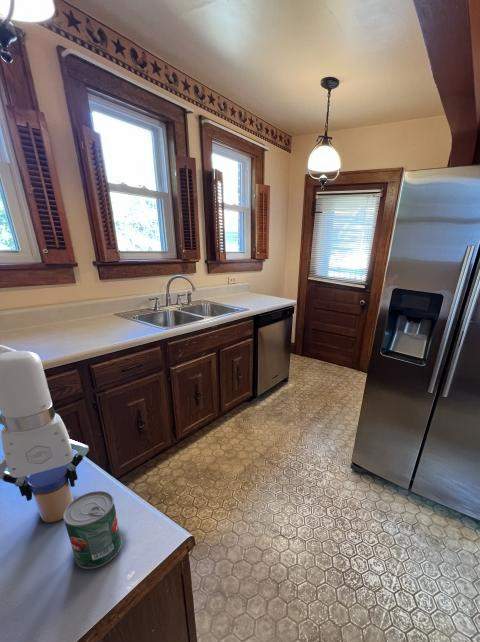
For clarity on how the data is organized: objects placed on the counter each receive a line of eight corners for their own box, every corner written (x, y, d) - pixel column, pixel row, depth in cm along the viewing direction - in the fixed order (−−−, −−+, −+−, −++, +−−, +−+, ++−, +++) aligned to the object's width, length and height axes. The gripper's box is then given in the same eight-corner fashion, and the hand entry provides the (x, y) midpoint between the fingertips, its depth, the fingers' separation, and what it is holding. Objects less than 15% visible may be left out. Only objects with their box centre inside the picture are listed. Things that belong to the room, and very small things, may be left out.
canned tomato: (65, 560, 58) (51, 516, 54) (100, 526, 65) (91, 485, 60) (97, 575, 55) (86, 531, 51) (131, 539, 62) (123, 498, 58)
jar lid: (32, 475, 66) (30, 469, 65) (70, 467, 69) (68, 460, 68) (26, 497, 61) (23, 491, 60) (67, 487, 64) (65, 481, 63)
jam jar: (40, 527, 64) (29, 493, 60) (41, 506, 69) (30, 474, 65) (76, 514, 67) (67, 482, 64) (74, 495, 72) (65, 464, 68)
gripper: (-37, 439, 51) (-5, 519, 58) (85, 414, 60) (100, 485, 67) (-29, 418, 57) (0, 493, 64) (82, 398, 66) (97, 465, 73)
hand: (51, 488), depth 66 cm, fingers closed on jar lid, 6 cm apart
